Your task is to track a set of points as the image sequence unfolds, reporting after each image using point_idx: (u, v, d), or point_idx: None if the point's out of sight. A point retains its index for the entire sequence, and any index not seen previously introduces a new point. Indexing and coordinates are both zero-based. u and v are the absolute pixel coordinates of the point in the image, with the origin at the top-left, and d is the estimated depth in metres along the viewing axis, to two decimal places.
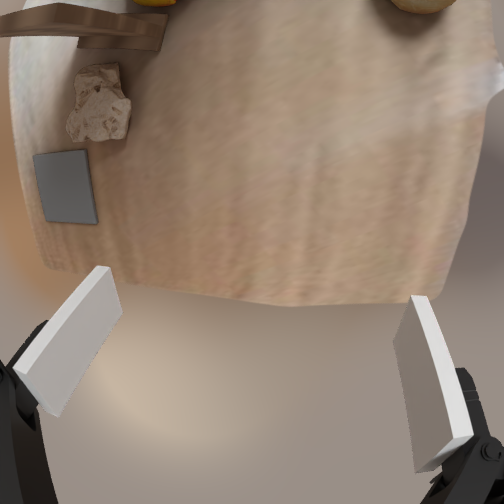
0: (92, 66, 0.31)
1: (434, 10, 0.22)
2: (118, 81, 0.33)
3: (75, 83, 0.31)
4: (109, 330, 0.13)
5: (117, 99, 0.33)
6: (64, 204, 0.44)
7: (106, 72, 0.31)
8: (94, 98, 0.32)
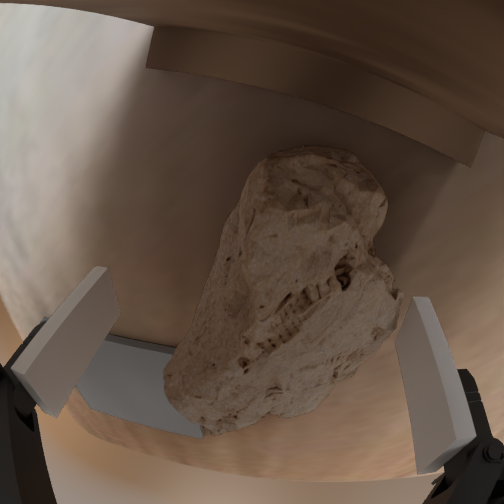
0: (306, 162, 0.08)
1: None
2: None
3: (256, 259, 0.07)
4: (107, 330, 0.13)
5: (391, 304, 0.11)
6: (131, 407, 0.23)
7: (358, 200, 0.10)
8: (330, 315, 0.10)
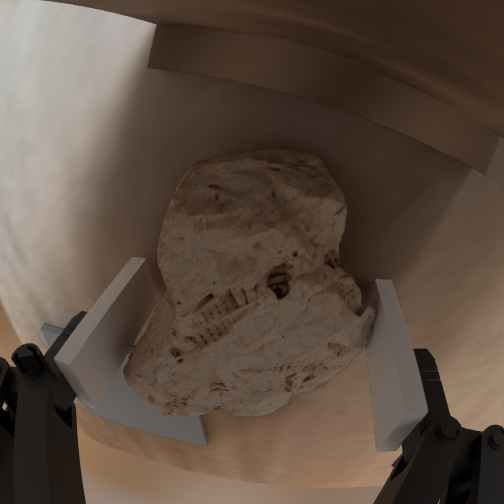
0: (236, 167, 0.08)
1: None
2: (337, 240, 0.11)
3: (165, 258, 0.08)
4: (143, 321, 0.14)
5: (351, 320, 0.11)
6: (134, 414, 0.23)
7: (305, 206, 0.09)
8: (265, 322, 0.10)
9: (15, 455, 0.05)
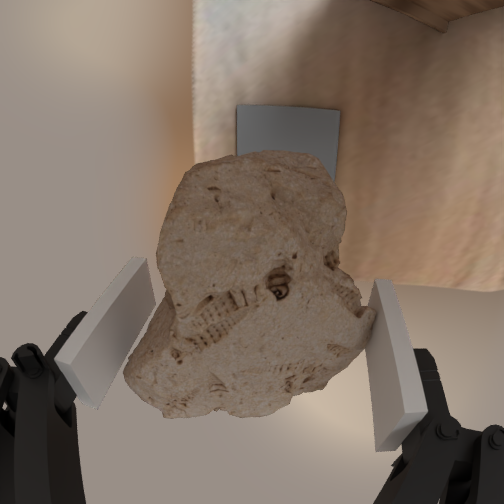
0: (235, 169, 0.08)
1: None
2: (337, 242, 0.11)
3: (165, 261, 0.08)
4: (144, 321, 0.14)
5: (350, 322, 0.11)
6: None
7: (304, 208, 0.09)
8: (265, 323, 0.10)
9: (15, 455, 0.05)
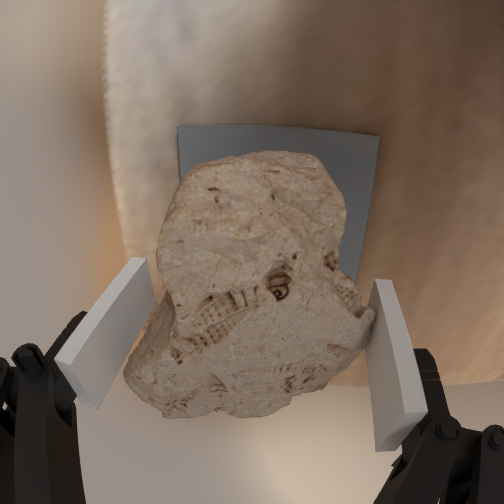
0: (235, 170, 0.08)
1: None
2: (337, 243, 0.11)
3: (165, 261, 0.08)
4: (144, 321, 0.14)
5: (350, 322, 0.11)
6: None
7: (304, 208, 0.09)
8: (264, 324, 0.10)
9: (15, 455, 0.05)
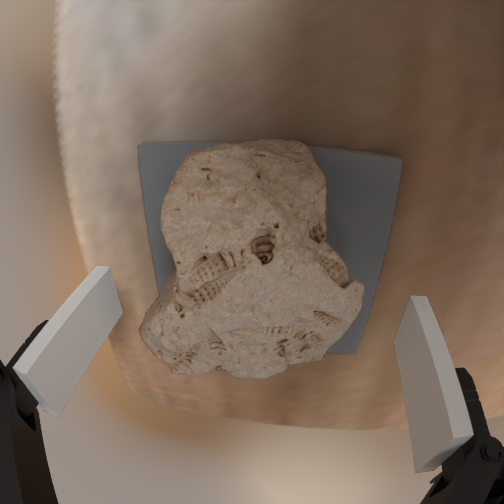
0: (226, 154, 0.10)
1: None
2: None
3: (167, 225, 0.10)
4: (109, 330, 0.13)
5: (334, 291, 0.12)
6: None
7: (287, 186, 0.11)
8: (252, 284, 0.11)
9: None
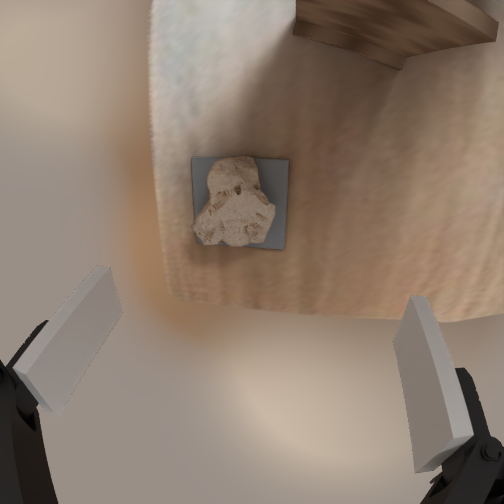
0: (226, 161, 0.34)
1: None
2: (258, 181, 0.36)
3: (208, 181, 0.34)
4: (109, 330, 0.13)
5: (262, 205, 0.36)
6: None
7: (245, 170, 0.35)
8: (234, 201, 0.35)
9: None
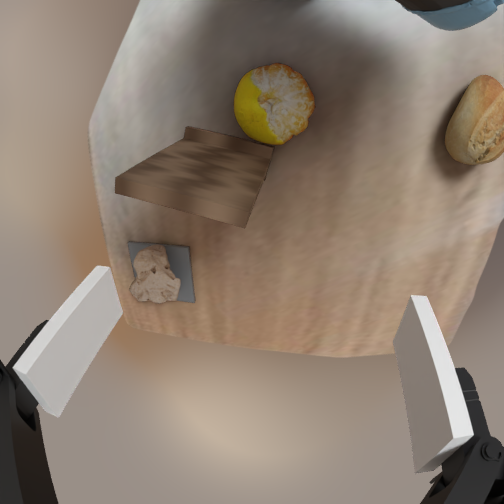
0: (145, 251, 0.51)
1: None
2: (168, 263, 0.53)
3: (134, 265, 0.51)
4: (109, 330, 0.13)
5: (170, 280, 0.53)
6: None
7: (158, 257, 0.52)
8: (152, 277, 0.53)
9: None
